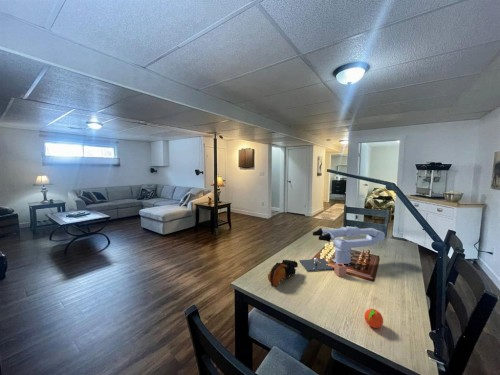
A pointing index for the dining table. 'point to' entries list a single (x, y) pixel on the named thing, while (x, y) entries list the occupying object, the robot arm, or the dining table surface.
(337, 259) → the robot arm
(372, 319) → the clementine
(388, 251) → the dining table surface
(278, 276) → the tool
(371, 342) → the dining table surface
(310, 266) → the stand
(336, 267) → the collar
